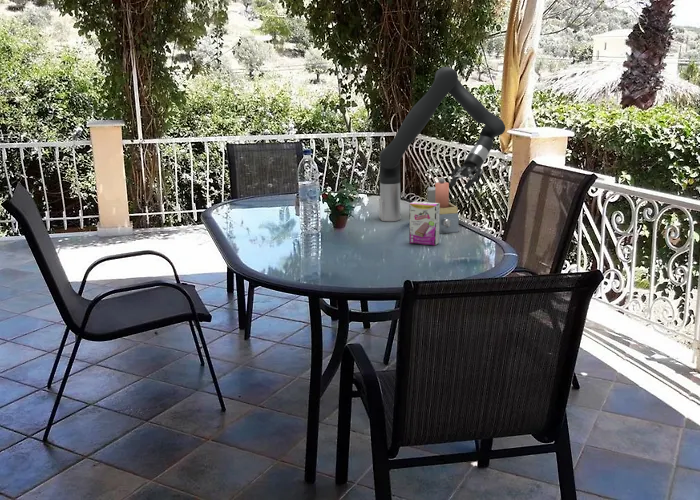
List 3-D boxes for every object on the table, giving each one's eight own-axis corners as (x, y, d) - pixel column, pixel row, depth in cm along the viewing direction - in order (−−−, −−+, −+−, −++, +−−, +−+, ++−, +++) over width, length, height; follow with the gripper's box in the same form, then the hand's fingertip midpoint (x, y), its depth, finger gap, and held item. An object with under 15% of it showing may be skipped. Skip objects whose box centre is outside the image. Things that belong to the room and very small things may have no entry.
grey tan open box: (434, 235, 271) (435, 210, 268) (423, 226, 287) (423, 202, 284) (460, 233, 273) (460, 208, 270) (447, 224, 288) (448, 201, 286)
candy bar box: (408, 243, 259) (408, 203, 254) (413, 240, 263) (413, 200, 259) (435, 246, 254) (436, 205, 250) (439, 243, 259) (440, 202, 254)
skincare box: (446, 220, 297) (446, 185, 292) (446, 223, 290) (447, 188, 285) (427, 220, 297) (427, 186, 293) (427, 223, 291) (428, 188, 286)
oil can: (437, 212, 275) (437, 179, 271) (433, 210, 280) (433, 178, 276) (450, 211, 275) (450, 179, 272) (446, 209, 281) (446, 177, 277)
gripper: (460, 151, 288) (442, 179, 284) (485, 153, 278) (467, 183, 274) (467, 161, 293) (450, 190, 289) (493, 164, 283) (475, 194, 279)
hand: (458, 187), depth 282 cm, fingers open, 8 cm apart
